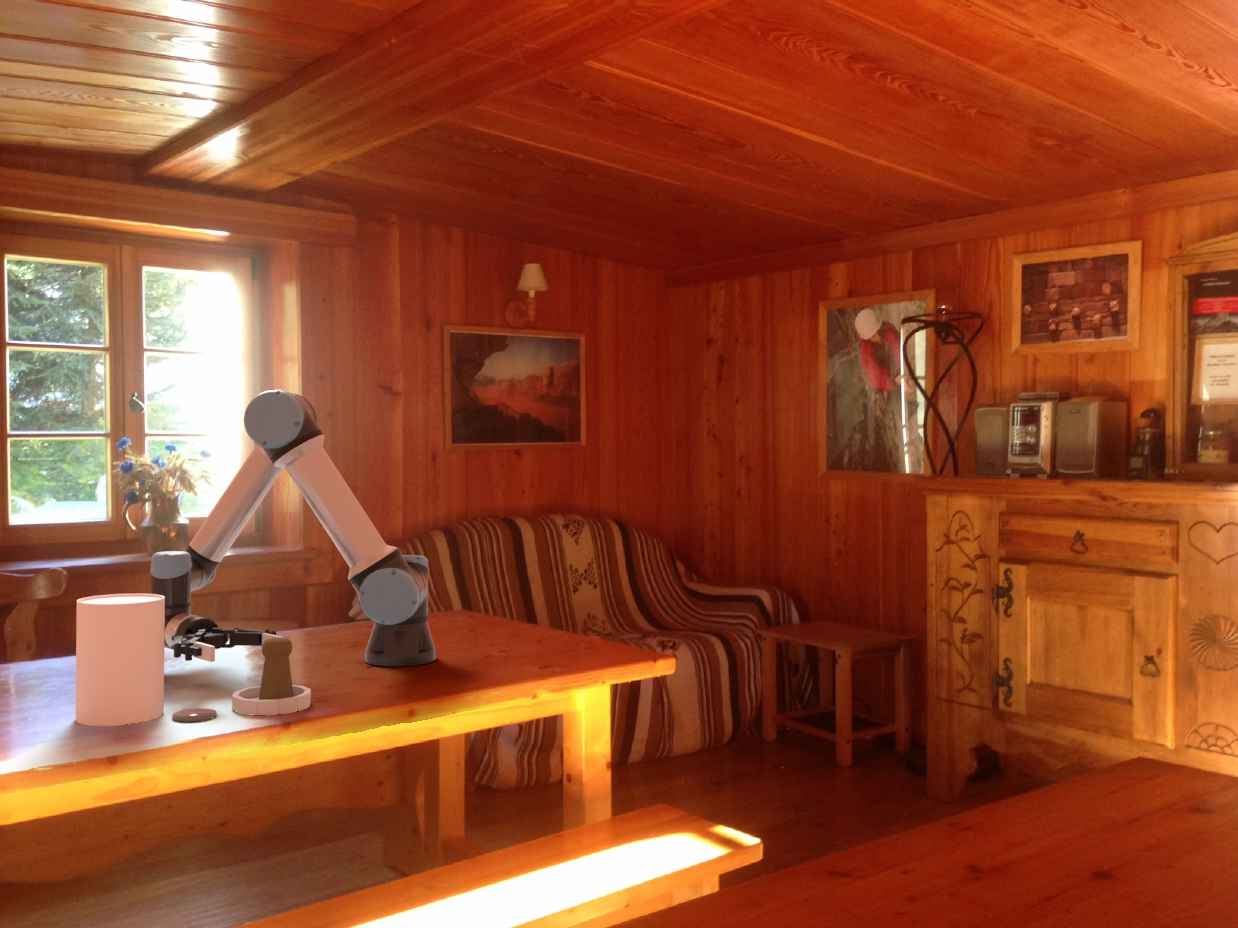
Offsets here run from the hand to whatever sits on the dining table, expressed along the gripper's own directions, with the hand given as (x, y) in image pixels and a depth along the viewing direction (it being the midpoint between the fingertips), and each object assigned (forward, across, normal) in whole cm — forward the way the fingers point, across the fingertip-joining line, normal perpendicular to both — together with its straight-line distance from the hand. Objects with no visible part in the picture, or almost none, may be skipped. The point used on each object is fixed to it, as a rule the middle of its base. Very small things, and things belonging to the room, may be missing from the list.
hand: (248, 649), depth 191 cm
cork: (+8, -1, -8) cm, 12 cm away
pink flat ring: (+9, 0, -9) cm, 13 cm away
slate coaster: (+6, +13, -9) cm, 17 cm away
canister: (-4, +21, -9) cm, 24 cm away
